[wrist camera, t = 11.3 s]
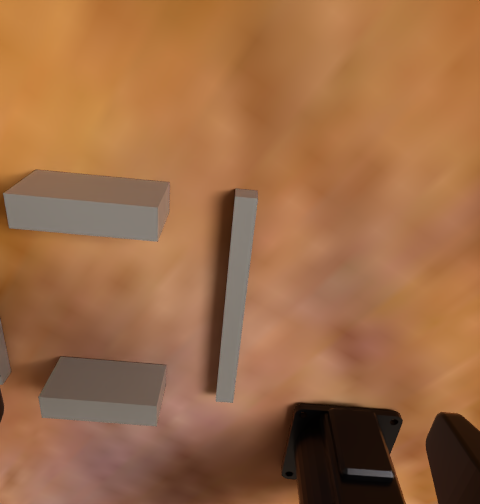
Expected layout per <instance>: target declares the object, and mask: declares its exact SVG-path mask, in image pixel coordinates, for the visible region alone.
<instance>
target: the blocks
mask: <svg viewBox="0 0 480 504" xmlns="http://www.w3.org/2000/svg"><path fill="white" fill-rule="evenodd" d="M3 195H4V201H5V207H6V213H7V219H8V224H9V228H13V229H24V230H35V231H47V232H58V233H69V234H80V235H91V236H102V237H113V238H124V239H135V240H146V241H157V242H158V239H159V237H160V234H161V232H162V229H163V227H164V224H165V222H166V219H167V217H168V214H169V197H170V182H162V181H151V180H140V179H130V178H119V177H109V176H98V175H88V174H77V173H67V172H56V171H45V170H35V171H33V172H32V173H31V174H29V175H28V176H26V177H25V178H24V179H22V180H21V181H20V182H18V183H17V184H15V185H14V186H13V187H11V188H10V189H8V190H7V191H6V192H4V193H3ZM257 202H258V192H257V191H256V190H246V189H236V190H235V200H234V211H233V222H232V232H231V243H230V253H229V264H228V274H227V285H226V295H225V306H224V316H223V327H222V338H221V348H220V359H219V369H218V380H217V391H216V401H217V402H230V403H233V399H234V391H235V383H236V375H237V366H238V358H239V350H240V342H241V333H242V325H243V317H244V309H245V301H246V292H247V284H248V276H249V268H250V260H251V251H252V243H253V235H254V227H255V219H256V210H257ZM10 373H11V368H10V364H9V359H8V354H7V349H6V344H5V339H4V334H3V330H2V325H1V320H0V385H3V384H4V382H5V381H6V379H7V378H8V376H9V375H10ZM165 386H166V365H159V364H147V363H135V362H122V361H110V360H98V359H85V358H73V357H60V359H59V360H58V362H57V364H56V366H55V368H54V369H53V371H52V373H51V375H50V377H49V379H48V380H47V382H46V384H45V386H44V388H43V389H42V391H41V393H40V395H39V397H38V398H39V404H40V409H41V415H42V418H54V419H67V420H81V421H94V422H107V423H120V424H133V425H146V426H157V422H158V418H159V413H160V409H161V404H162V400H163V395H164V391H165Z"/></svg>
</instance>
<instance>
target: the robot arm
mask: <svg viewBox="0 0 480 504" xmlns="http://www.w3.org/2000/svg"><path fill="white" fill-rule="evenodd" d="M301 412H304V413H301ZM3 413H4V403H3V398H2V394H1V390H0V422H1V419H2V417H3ZM402 421H403V420H402V418H401V415H400V413H398V412H396V411H388V410H375V409H362V408H349V407H337V406H324V405H311V404H299V405H297V406H296V407H295V408H294V412H293V416H292V421H291V425H290V430H289V435H288V439H287V444H286V448H285V453H284V458H283V462H282V467H281V470H282V476H283V477H284V478H287V479H297V486H298V495H299V504H406V503H405V500H404V497H403V494H402V491H401V488H400V485H399V481H398V478H397V475H396V472H395V469H394V466H393V463H392V460H391V457H390V453H391V450H392V448H393V445H394V443H395V440H396V438H397V435H398V433H399V430H400V427H401V425H402ZM426 451H427V456H428V460H429V465H430V469H431V473H432V478H433V482H434V486H435V491H436V495H437V499H438V504H480V431H479V430H478V429H477V428H476V427H474V426H473V425H472V424H471V423H470V422H469V421H468V420H467V419H465V418H464V417H463V416H462V415H460V414H457V413H447V412H440V413H439V414H437V416H436V418H435V420H434V422H433V424H432V427H431V429H430V431H429V433H428V436H427V438H426Z"/></svg>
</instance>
